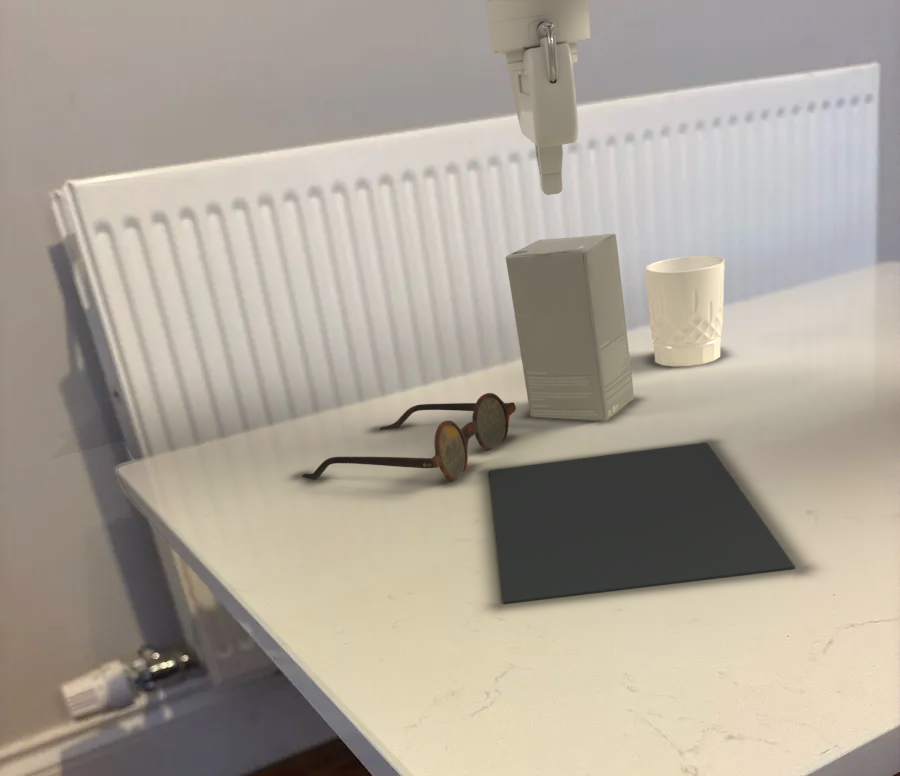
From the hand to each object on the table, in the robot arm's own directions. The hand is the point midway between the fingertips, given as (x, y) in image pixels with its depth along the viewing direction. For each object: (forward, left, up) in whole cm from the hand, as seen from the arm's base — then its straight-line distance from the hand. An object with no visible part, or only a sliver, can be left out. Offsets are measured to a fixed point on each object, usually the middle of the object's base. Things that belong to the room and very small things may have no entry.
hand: (551, 192), depth 96 cm
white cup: (-13, -5, -19) cm, 24 cm away
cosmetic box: (0, +8, -19) cm, 21 cm away
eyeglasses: (+16, +15, -19) cm, 29 cm away
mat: (0, +34, -19) cm, 39 cm away
